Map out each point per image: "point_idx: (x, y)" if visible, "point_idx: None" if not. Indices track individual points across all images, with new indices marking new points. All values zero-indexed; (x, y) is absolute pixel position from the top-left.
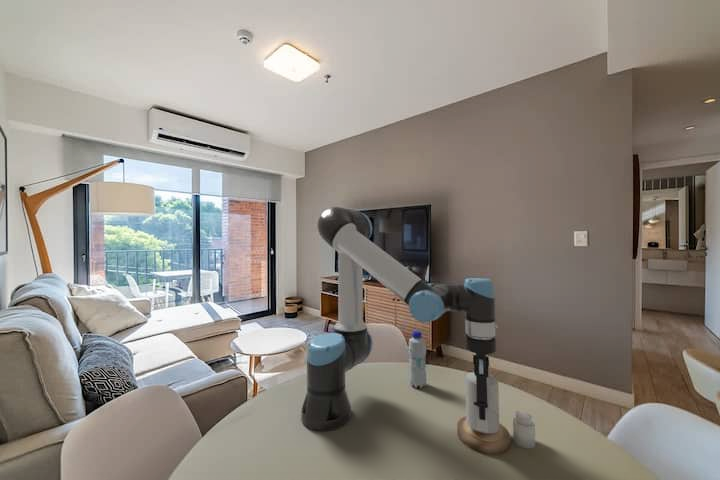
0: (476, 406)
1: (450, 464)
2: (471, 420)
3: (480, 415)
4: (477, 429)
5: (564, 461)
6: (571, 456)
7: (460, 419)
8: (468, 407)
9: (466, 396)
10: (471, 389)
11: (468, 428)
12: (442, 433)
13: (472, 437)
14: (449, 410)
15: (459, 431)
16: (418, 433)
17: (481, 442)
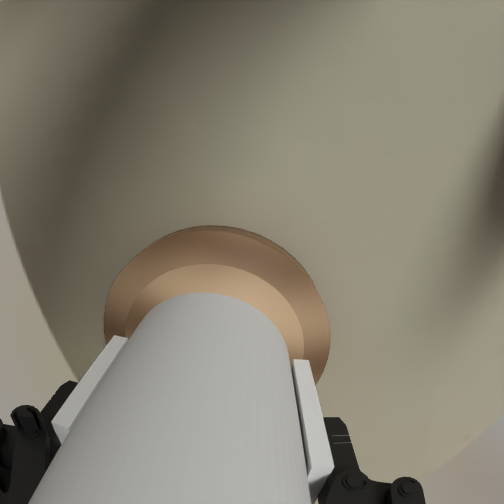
0: (59, 412)
1: (28, 198)
2: (137, 330)
3: (56, 398)
4: (112, 339)
5: None
6: None
7: (272, 253)
8: (131, 354)
9: (137, 391)
10: (44, 476)
11: (187, 290)
12: (187, 153)
13: (132, 298)
14: (405, 196)
15: (159, 242)
16: (159, 49)
17: (115, 329)
